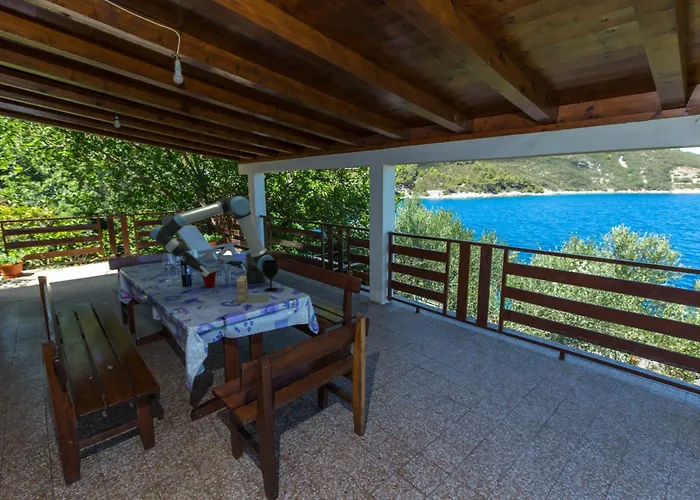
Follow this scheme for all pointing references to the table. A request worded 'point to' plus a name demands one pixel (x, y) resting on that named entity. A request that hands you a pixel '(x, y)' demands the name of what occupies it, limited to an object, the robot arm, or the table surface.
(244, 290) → the oak board
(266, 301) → the rubber mat
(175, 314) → the table surface
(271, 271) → the wine glass
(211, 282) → the plastic cup
